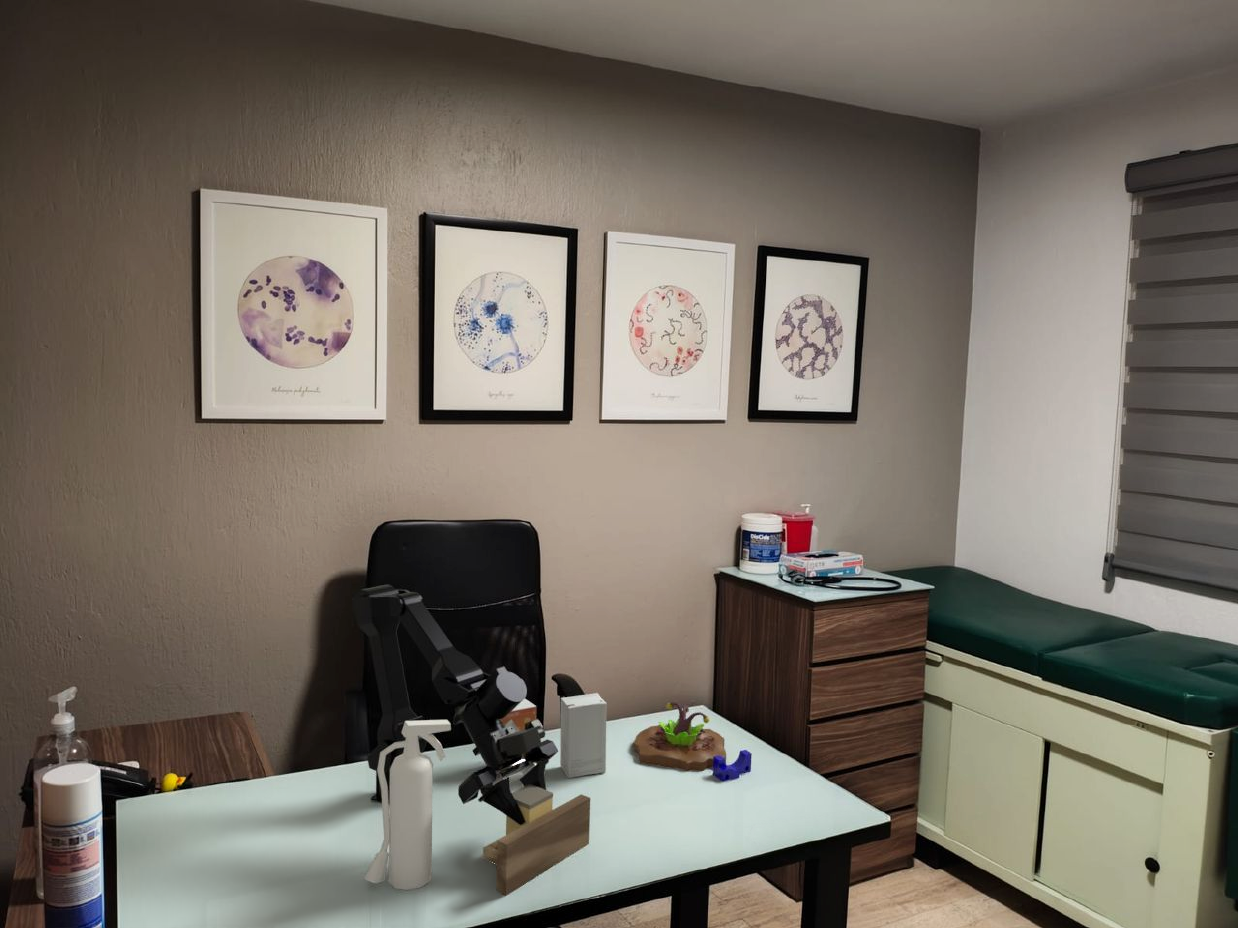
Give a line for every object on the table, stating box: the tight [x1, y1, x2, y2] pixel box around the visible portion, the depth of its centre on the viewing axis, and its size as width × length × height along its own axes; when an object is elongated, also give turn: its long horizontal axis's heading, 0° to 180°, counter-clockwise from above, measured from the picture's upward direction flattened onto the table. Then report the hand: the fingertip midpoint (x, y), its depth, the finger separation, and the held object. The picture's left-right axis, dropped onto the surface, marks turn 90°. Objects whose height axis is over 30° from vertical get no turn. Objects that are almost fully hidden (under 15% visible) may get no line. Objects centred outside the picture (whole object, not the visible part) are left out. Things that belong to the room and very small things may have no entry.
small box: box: [501, 697, 537, 773], centre depth 176 cm, size 8×6×13 cm
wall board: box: [482, 793, 591, 896], centre depth 142 cm, size 10×20×8 cm, turn 143°
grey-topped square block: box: [505, 784, 554, 835], centre depth 142 cm, size 5×6×10 cm
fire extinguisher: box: [364, 719, 452, 891], centre depth 134 cm, size 7×12×25 cm, turn 116°
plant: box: [633, 701, 727, 772], centre depth 187 cm, size 20×20×11 cm
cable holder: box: [712, 749, 753, 783], centre depth 176 cm, size 8×4×4 cm, turn 118°
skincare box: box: [559, 692, 608, 779], centre depth 175 cm, size 8×6×15 cm
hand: (535, 816), depth 141 cm, fingers closed on grey-topped square block, 5 cm apart
